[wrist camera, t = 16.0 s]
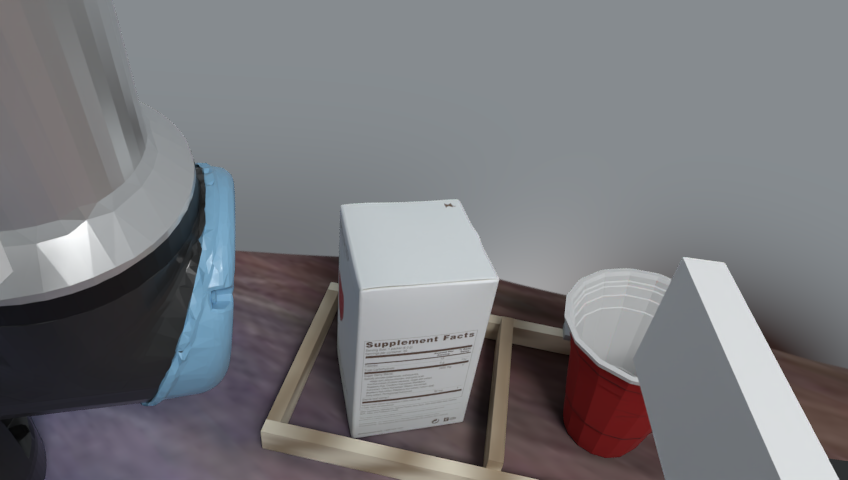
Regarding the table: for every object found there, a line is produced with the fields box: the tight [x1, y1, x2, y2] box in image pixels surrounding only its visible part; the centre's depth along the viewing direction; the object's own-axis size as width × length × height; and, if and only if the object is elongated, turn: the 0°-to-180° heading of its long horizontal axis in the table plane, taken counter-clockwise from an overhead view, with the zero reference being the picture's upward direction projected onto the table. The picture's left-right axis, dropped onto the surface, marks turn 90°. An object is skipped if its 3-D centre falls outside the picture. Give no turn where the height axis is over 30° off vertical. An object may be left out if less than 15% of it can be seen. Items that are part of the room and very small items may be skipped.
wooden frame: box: [261, 282, 571, 480], centre depth 45 cm, size 32×16×3 cm, turn 80°
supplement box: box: [337, 199, 499, 438], centre depth 42 cm, size 9×9×15 cm
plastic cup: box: [563, 268, 672, 458], centre depth 42 cm, size 11×11×12 cm
